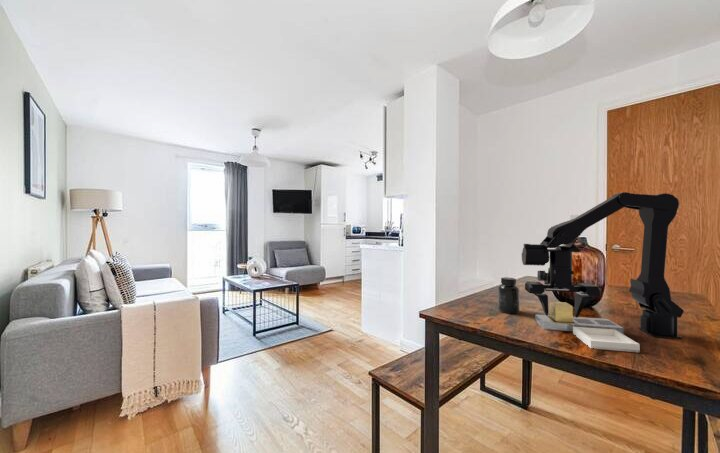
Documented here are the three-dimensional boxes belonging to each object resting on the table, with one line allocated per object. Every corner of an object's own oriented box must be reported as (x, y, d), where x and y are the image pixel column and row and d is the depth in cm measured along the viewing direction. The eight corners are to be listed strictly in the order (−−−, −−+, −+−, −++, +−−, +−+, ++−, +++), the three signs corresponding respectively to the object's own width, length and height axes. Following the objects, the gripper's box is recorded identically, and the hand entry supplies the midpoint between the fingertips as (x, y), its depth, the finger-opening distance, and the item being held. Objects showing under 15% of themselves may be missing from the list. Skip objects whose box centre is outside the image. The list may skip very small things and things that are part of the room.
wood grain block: (566, 324, 91) (566, 302, 91) (572, 329, 86) (572, 306, 86) (550, 323, 92) (549, 301, 92) (555, 328, 88) (555, 305, 88)
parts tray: (615, 336, 81) (615, 329, 81) (639, 352, 71) (639, 344, 71) (573, 333, 83) (572, 326, 83) (590, 348, 73) (590, 340, 73)
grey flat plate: (607, 325, 89) (607, 318, 89) (623, 335, 82) (623, 327, 82) (535, 320, 95) (535, 314, 95) (543, 329, 87) (543, 322, 87)
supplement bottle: (522, 314, 101) (521, 280, 101) (501, 313, 102) (500, 280, 102) (515, 308, 108) (515, 276, 107) (496, 308, 109) (495, 276, 109)
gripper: (583, 263, 94) (583, 310, 94) (520, 261, 99) (520, 307, 99) (601, 268, 84) (602, 321, 84) (529, 266, 88) (530, 317, 89)
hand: (561, 316), depth 89 cm, fingers open, 8 cm apart
